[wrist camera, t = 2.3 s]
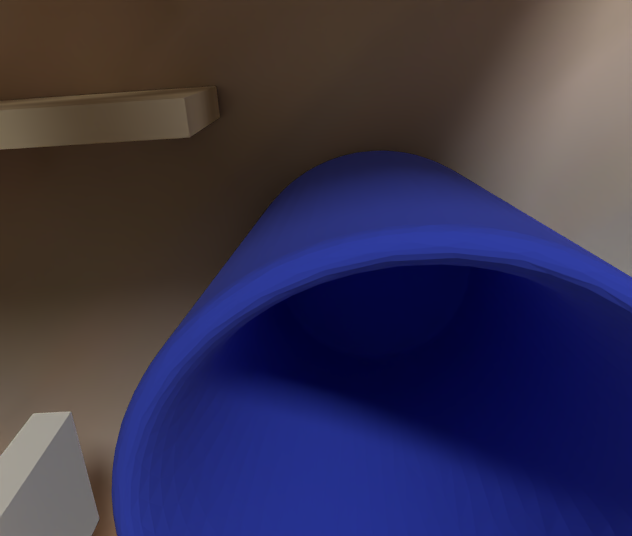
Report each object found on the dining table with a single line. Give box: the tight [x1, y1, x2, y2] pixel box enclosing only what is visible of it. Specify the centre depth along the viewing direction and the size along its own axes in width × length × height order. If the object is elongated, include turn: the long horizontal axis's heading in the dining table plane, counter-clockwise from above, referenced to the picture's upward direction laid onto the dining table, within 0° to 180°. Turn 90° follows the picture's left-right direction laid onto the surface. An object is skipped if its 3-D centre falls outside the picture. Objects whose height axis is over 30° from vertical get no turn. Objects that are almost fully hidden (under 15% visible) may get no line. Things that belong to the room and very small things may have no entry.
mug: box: [112, 151, 632, 536], centre depth 13 cm, size 8×12×10 cm
